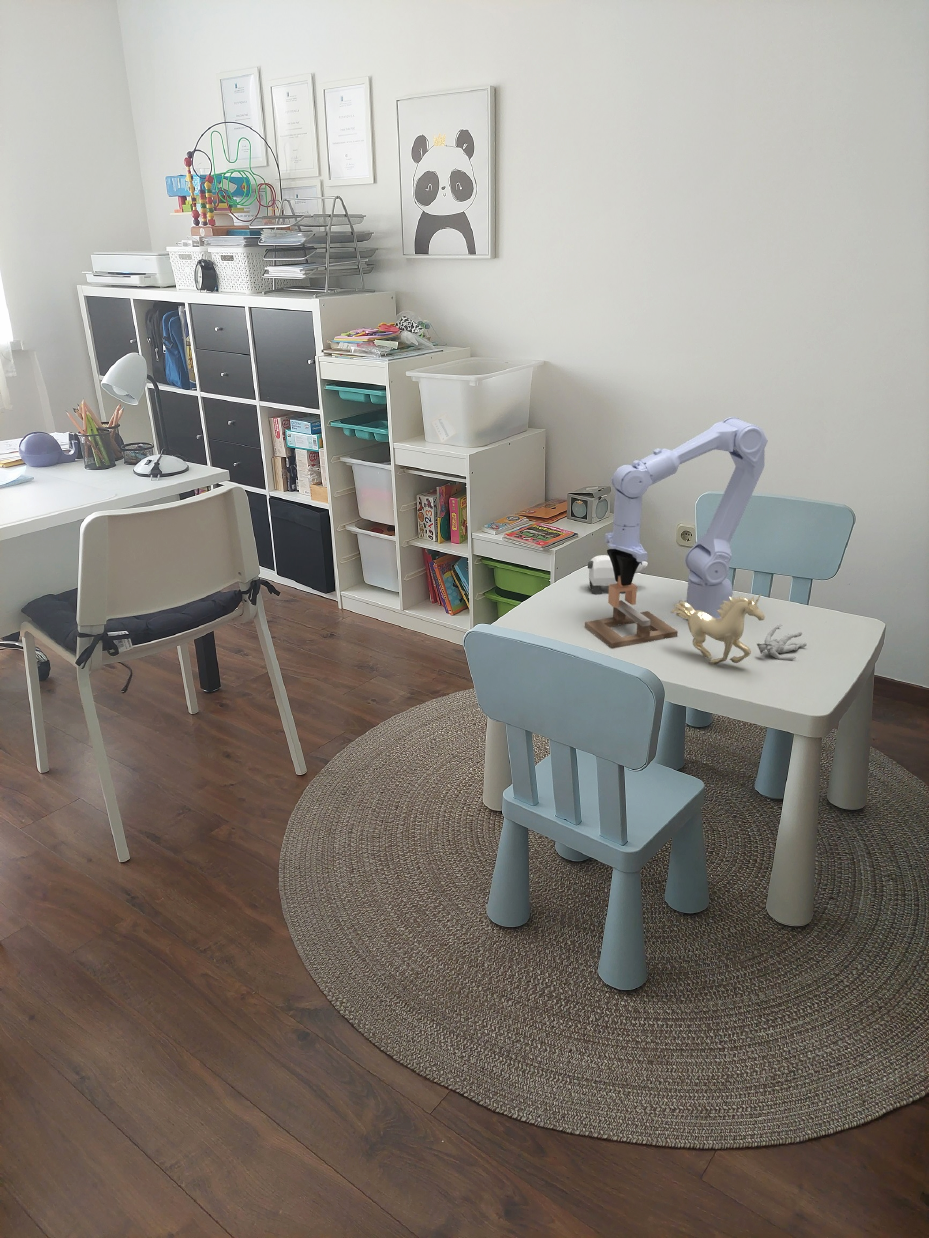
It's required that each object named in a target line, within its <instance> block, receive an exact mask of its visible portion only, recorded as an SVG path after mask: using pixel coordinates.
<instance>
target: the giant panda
mask: <svg viewBox="0 0 929 1238" xmlns="http://www.w3.org/2000/svg"><path fill="white" fill-rule="evenodd" d="M647 567H649V562H648V561H643V562H641V563H640V564H639V566H638V567H637V569H636V572H635V574H638V573H640V572H641V571H642V570H645V569H646V568H647ZM587 569H588V579H589V589H590V590H592V594H593V595H602V594H603V590H601V587H602V586H609V585H610V584H617V583H618V582H616V580H615V576H614V570H613V566H612V562H611V560H610V557H609V555H608V554H603V555H602V554H601V555H596V556H594V557H593V558H591V559H590V561H588V562H587ZM620 594H625V591H624V592H620Z"/></svg>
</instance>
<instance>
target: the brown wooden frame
mask: <svg viewBox="0 0 929 1238" xmlns="http://www.w3.org/2000/svg"><path fill="white" fill-rule="evenodd" d="M612 607H613V606H612ZM612 610H613V611H612V616H611V617H606V618H602V619H600V618H599V619H596V620H589V621H585V622H584V628H586V630H588V631H589V632H590V633H591V634H593V635H594V634H595V635H594V636H595V637H597V638H598V639H599V640H600V641H602V642H603V641H604V642H603V643H604V644H606V645H607V646H608V647H609V646H610V647H609V648H611V649H616V648H622V647H626V646H633V645H637V644H643V643H644V644H645V643H649V642H654V640H655V641H659V640H665V638H666V639H669V638H670V639H671V638H676V637H678V634H679V633H678V632H679V631H678V630H677V629H675V628H673V627H672V626H671V625H670V624H668V623H666V622H665V621H663V620H662V619H661V618H659V617H658V616H655V615H654V614H653V613H651V612H650V611H648V610H647V611H642V612H639V611H638V610H637V609H635V608H634V607H632V605H629V603H627V602H626V601H623V600H621V599H619V607H616V608H614V607H613V609H612ZM633 623H636V634H630V635H626V636H625V635H624V636H622V635H620V634H619V633H618V632H616V631H615V630H614V629H612V628H611V627H616V626H621V625H627V624H633ZM648 641H649V642H648Z"/></svg>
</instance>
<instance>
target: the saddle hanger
mask: <svg viewBox="0 0 929 1238" xmlns="http://www.w3.org/2000/svg"><path fill="white" fill-rule="evenodd" d="M637 590H638V586H637V585H636V584H635V583H634V582H632V583H631V585H626V586H622V585H621V578H620V576H618V583H617V584H610V585H608V598H607V604H609V605H610V606H611V607H614V608H616V607H619V600H620V596H621V593H620V592H624V591H625V593H624V602H626V603H627V604H630V606H635V605H637Z"/></svg>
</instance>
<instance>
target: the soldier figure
mask: <svg viewBox="0 0 929 1238" xmlns="http://www.w3.org/2000/svg"><path fill="white" fill-rule="evenodd" d="M780 627H783V625H782V624H778V625H776V626H775V627H773V628H772V629H771V630H770V631H769V632H768V633H767V635H766V637H765V639H764V641H763V642H764V643H756V646H757V648H758V650H759V652H760V655H762V654H763V653H764V652H765V651H767V652H768V654H769V655H770V656H771V657H773V658H775V659H776V660H782V661H788V660H791V661H793V660H796V659H797V657H796V656H795V655H790V656H787V655H781V654H785V653H789V652H792V651H797V650H799V648H805V647H807V645H808V643H807V642H802V643H798V644H790V645H786V644H787V642H789V641H791V640H792V639H793V638H798V637H801V636H802V635H803V632H802V631H799V632H797V633H787V634H786V635H784V636H783V637H782V638H780V639H776V638H774V639H772V637H773V636H774V635H775V633H776V631H777V630H781V628H780Z"/></svg>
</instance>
